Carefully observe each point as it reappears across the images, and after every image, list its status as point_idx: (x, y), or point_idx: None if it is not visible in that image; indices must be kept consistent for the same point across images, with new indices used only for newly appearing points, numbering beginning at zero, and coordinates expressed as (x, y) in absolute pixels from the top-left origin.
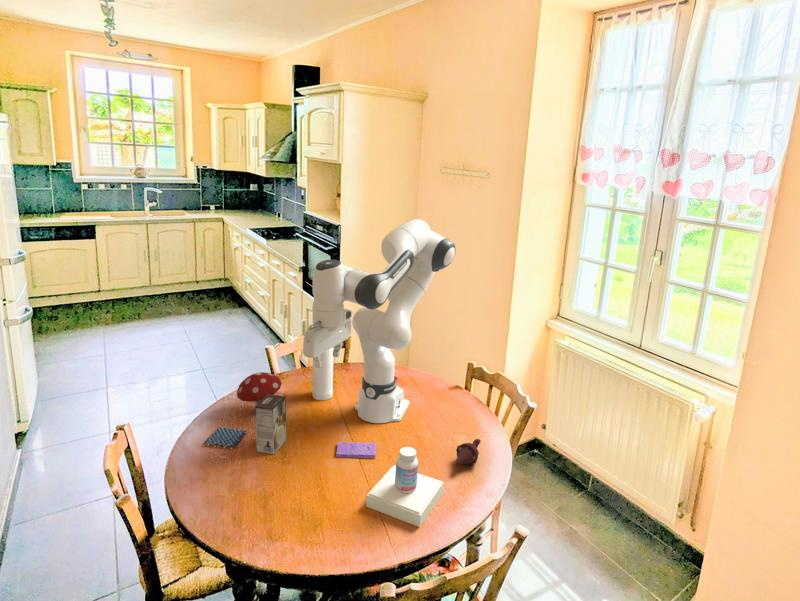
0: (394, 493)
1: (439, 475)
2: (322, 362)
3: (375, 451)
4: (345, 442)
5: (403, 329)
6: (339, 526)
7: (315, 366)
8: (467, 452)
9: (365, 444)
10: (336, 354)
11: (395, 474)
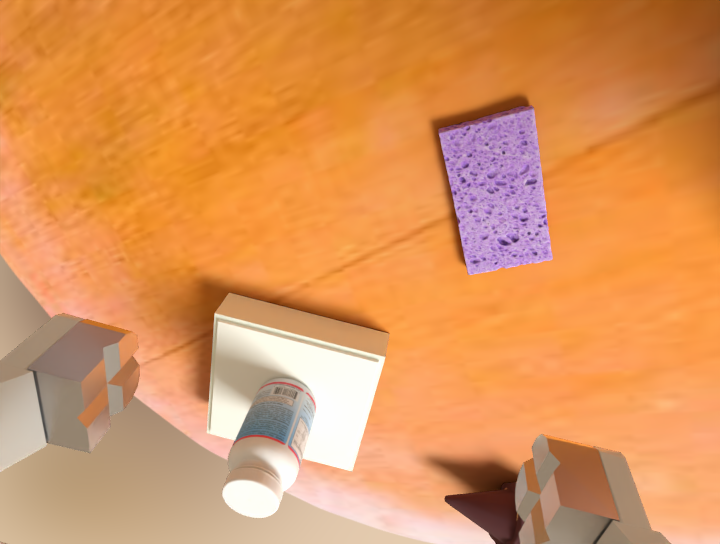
0: (248, 378)
1: (429, 437)
2: (100, 435)
3: (492, 270)
4: (534, 142)
5: None
6: (129, 248)
7: (60, 325)
8: (489, 532)
9: (535, 224)
10: (529, 506)
11: (263, 405)
